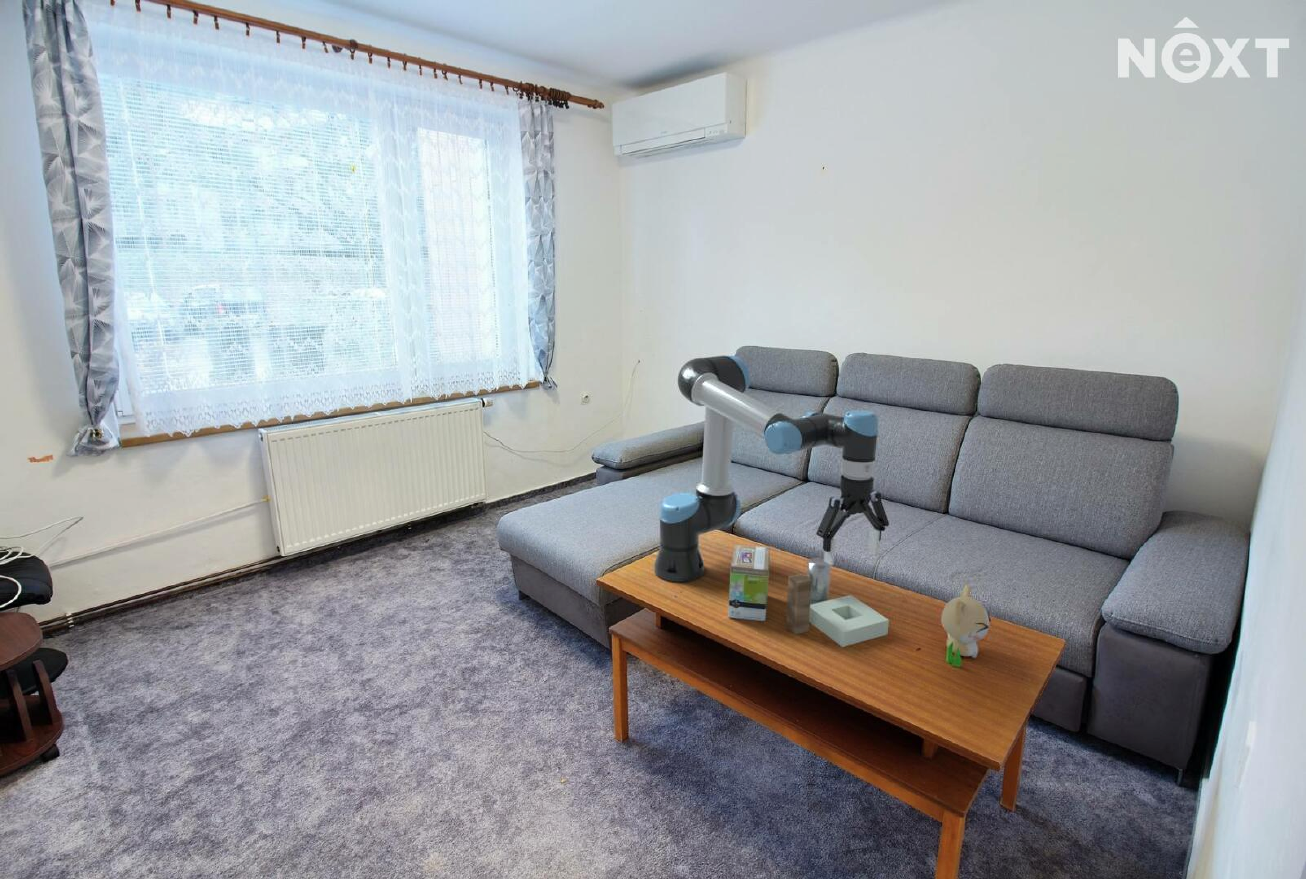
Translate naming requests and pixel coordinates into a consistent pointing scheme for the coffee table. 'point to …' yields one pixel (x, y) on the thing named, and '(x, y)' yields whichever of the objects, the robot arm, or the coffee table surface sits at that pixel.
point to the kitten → (964, 626)
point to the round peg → (819, 579)
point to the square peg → (798, 603)
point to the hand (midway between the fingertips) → (851, 558)
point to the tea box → (749, 582)
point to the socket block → (859, 622)
